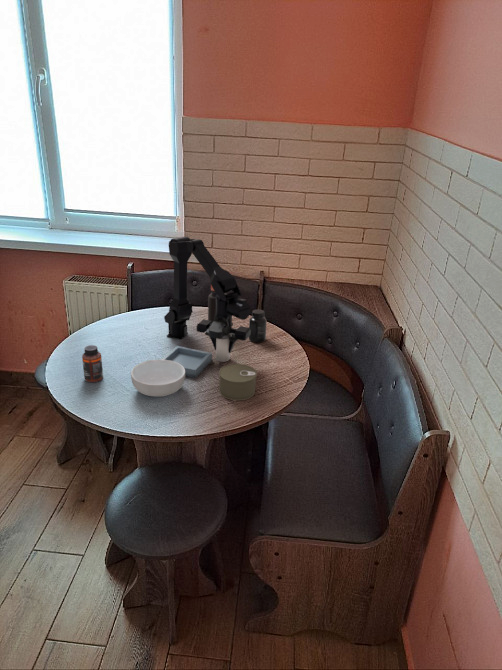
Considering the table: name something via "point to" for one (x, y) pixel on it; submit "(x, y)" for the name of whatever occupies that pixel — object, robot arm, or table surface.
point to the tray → (189, 359)
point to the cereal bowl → (158, 377)
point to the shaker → (223, 348)
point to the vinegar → (211, 305)
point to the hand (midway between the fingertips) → (222, 351)
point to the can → (237, 381)
